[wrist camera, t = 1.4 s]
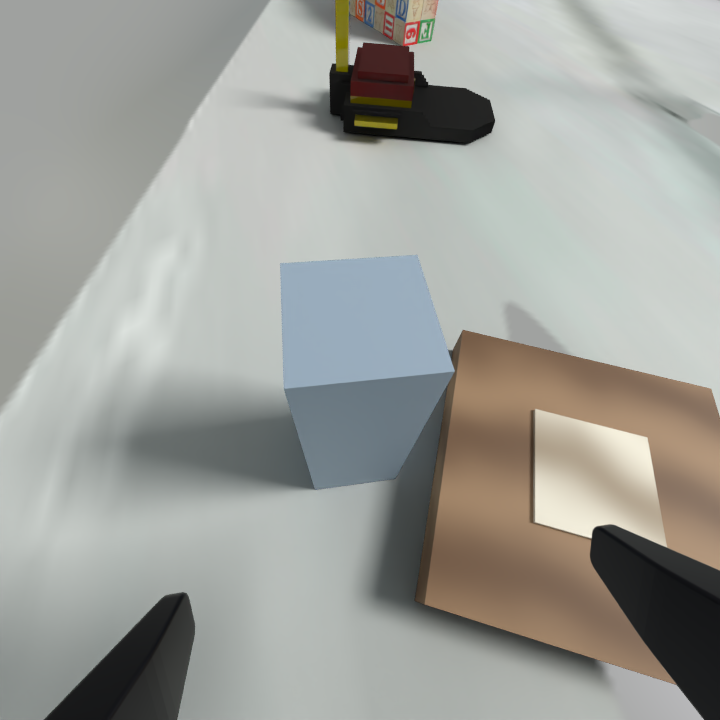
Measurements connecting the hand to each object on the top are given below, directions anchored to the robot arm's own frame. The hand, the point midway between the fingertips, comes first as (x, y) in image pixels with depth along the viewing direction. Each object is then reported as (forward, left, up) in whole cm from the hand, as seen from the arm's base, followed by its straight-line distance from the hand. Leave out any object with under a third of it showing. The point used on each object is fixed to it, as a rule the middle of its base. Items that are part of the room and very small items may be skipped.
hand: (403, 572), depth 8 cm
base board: (+11, -7, -13) cm, 18 cm away
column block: (+5, +5, -13) cm, 14 cm away
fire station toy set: (+43, +25, -13) cm, 52 cm away
